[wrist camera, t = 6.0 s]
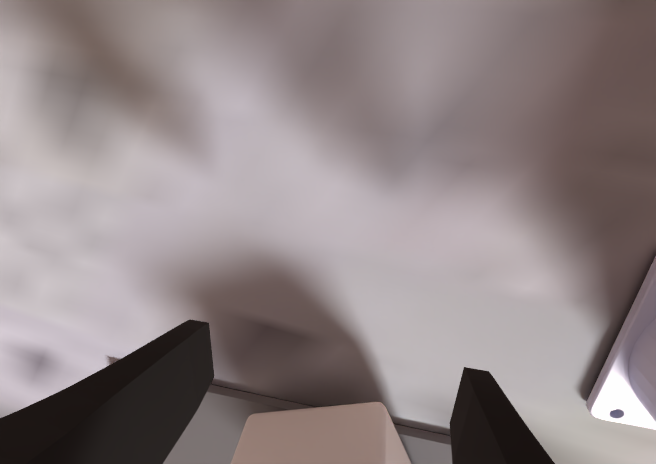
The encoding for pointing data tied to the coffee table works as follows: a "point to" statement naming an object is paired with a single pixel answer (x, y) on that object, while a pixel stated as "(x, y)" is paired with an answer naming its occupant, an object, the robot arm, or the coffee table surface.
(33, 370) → the coffee table surface
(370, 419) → the medicine box
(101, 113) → the coffee table surface
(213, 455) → the grey flat slab
